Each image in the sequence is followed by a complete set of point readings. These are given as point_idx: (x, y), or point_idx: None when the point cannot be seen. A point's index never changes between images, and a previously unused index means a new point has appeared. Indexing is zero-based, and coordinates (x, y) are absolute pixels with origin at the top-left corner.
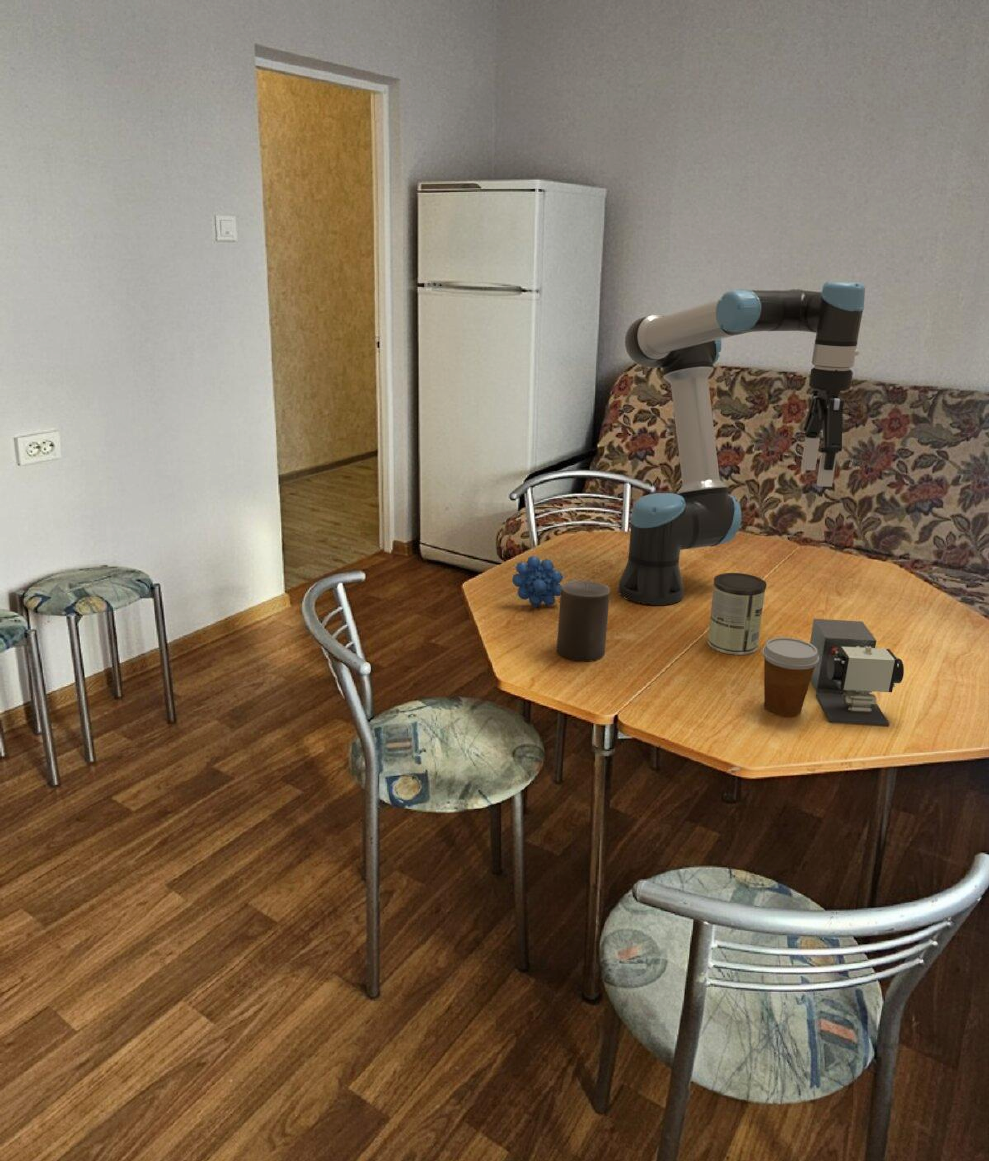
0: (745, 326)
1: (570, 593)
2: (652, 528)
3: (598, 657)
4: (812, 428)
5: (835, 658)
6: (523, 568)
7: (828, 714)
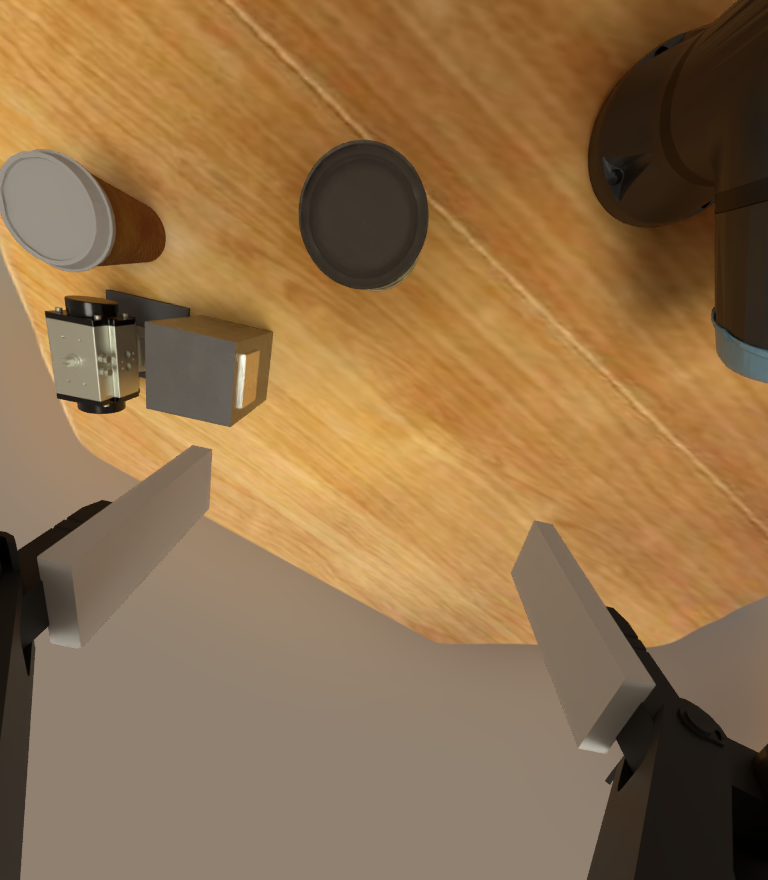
0: None
1: None
2: None
3: None
4: (632, 807)
5: (68, 301)
6: None
7: (120, 295)
